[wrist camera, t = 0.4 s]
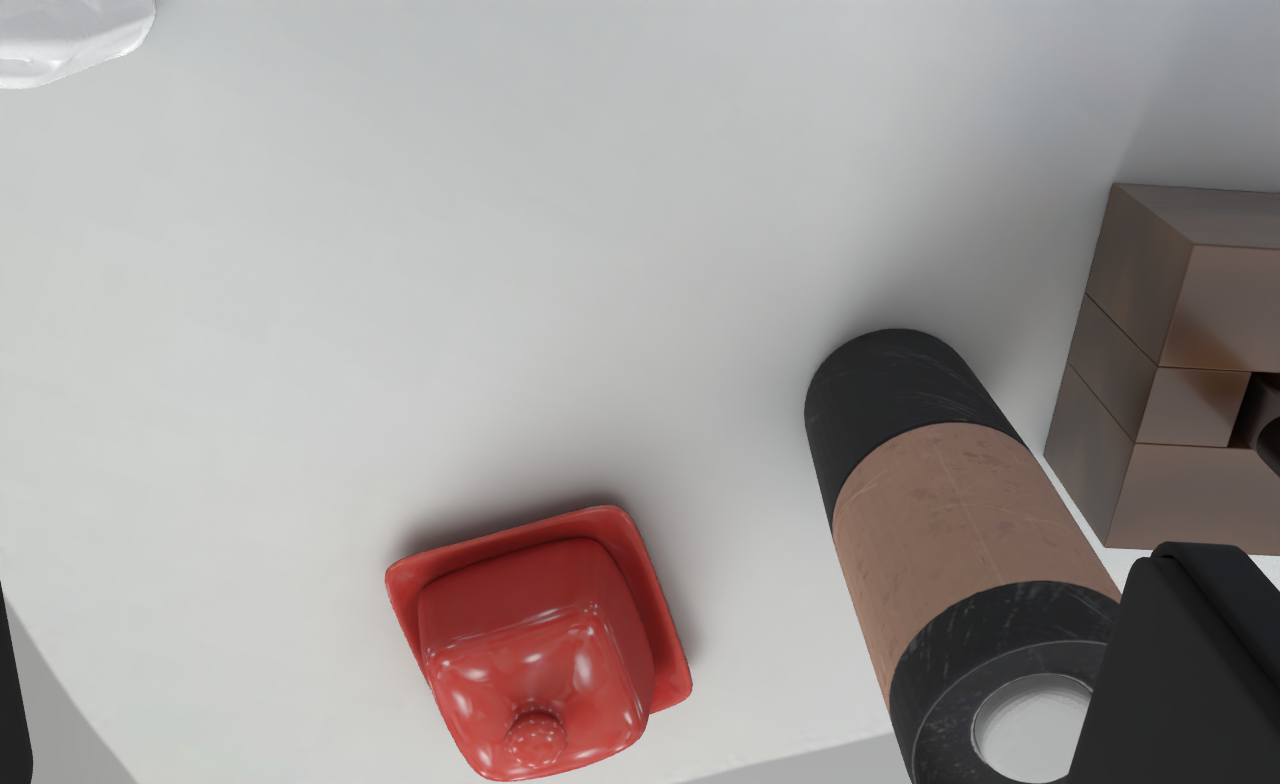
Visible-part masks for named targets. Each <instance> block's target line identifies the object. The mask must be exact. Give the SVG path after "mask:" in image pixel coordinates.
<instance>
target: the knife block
mask: <svg viewBox="0 0 1280 784" xmlns="http://www.w3.org/2000/svg"><path fill="white" fill-rule="evenodd" d="M1250 371H1252V372H1257V373H1258V374H1259V375H1261V376H1262V377H1263V378H1264V379H1265V380H1266V381H1267V382H1268V383H1270V384H1271V385H1272V386H1273V387H1274V388H1275V389H1276V390H1278V391H1279V392H1280V194H1277V193H1261V192H1246V191H1230V190H1215V189H1199V188H1184V187H1168V186H1152V185H1137V184H1121V183H1114V184H1113V185H1112V189H1111V193H1110V197H1109V201H1108V205H1107V209H1106V213H1105V216H1104V220H1103V224H1102V228H1101V232H1100V236H1099V240H1098V244H1097V248H1096V252H1095V256H1094V259H1093V263H1092V267H1091V271H1090V275H1089V279H1088V283H1087V287H1086V293H1084V297H1083V301H1082V305H1081V309H1080V313H1079V317H1078V321H1077V324H1076V328H1075V332H1074V336H1073V340H1072V344H1071V348H1070V352H1069V356H1068V361H1067V364H1066V368H1065V372H1064V376H1063V380H1062V383H1061V387H1060V391H1059V395H1058V399H1057V403H1056V407H1055V411H1054V415H1053V419H1052V423H1051V427H1050V430H1049V434H1048V438H1047V442H1046V446H1045V450H1044V454H1043V456H1044V458H1045V459H1046V461H1047V462H1048V464H1049V465H1050V467H1051V468H1052V470H1053V471H1054V473H1055V474H1056V476H1057V477H1058V479H1059V480H1060V482H1061V483H1062V485H1063V486H1064V488H1065V489H1066V491H1067V492H1068V494H1069V495H1070V497H1071V498H1072V500H1073V501H1074V503H1075V504H1076V506H1077V507H1078V509H1079V510H1080V512H1081V513H1082V515H1083V516H1084V518H1085V520H1086V521H1087V523H1088V524H1089V526H1090V527H1091V529H1092V530H1093V532H1094V533H1095V535H1096V536H1097V538H1098V539H1099V541H1100V542H1101V544H1102V545H1103V547H1105V548H1121V549H1142V550H1155V548H1156V547H1157V546H1158V545H1159V544H1161V543H1163V542H1166V541H1173V542H1192V543H1211V544H1229V545H1234V546H1238V547H1239V548H1240V549H1241V550H1243V551H1244V552H1245V553H1246V554H1248V555H1269V556H1280V478H1279V477H1278V476H1277V475H1276V474H1275V473H1274V472H1273V471H1272V470H1271V469H1270V468H1269V467H1268V466H1267V465H1266V464H1265V463H1264V462H1263V460H1262V459H1261V458H1260V457H1259V455H1258V454H1257V453H1256V452H1255V451H1254V450H1253V449H1252V448H1251V447H1250V446H1249V445H1248V444H1247V443H1246V442H1245V441H1244V440H1243V439H1242V438H1241V437H1240V436H1239V435H1238V434H1237V433H1236V432H1235V431H1234V430H1233V427H1234V424H1235V421H1236V418H1237V415H1238V412H1239V409H1240V406H1241V403H1242V400H1243V397H1244V394H1245V391H1246V388H1247V385H1248V382H1249V379H1250V376H1251V372H1250Z"/></svg>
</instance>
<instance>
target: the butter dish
mask: <svg viewBox="0 0 1280 784" xmlns="http://www.w3.org/2000/svg"><path fill="white" fill-rule="evenodd" d="M385 584H386V589H387V592H388V595H389V598H390V602H391V604H392V607H393V609H394V611H395V613H396V616H397V619H398V621H399V624H400V626H401V628H402V630H403V632H404V635H405V637H406V639H407V641H408V643H409V646H410V648H411V650H412V652H413V654H414V657H415V659H416V660H417V663H418V665H419V667H420V669H421V671H422V673H423V675H424V677H425V679H426V681H427V683H428V685H429V687H430V689H431V691H432V693H433V696H434V698H435V701H436V703H437V705H438V708H439V710H440V712H441V715H442V717H443V719H444V721H445V723H446V725H447V728H448V730H449V731H450V733H451V735H452V737H453V739H454V741H455V743H456V745H457V747H458V748H459V750H460V752H461V753H462V755H463V756H464V758H465V759H466V761H467V762H468V764H469V765H470V766H471V767H472V768H473V769H474V771H475V772H476V773H478V774H479V775H480V776H482V777H484V778H486V779H488V780H492V781H502V782H509V781H519V780H527V779H534V778H541V777H546V776H551V775H555V774H559V773H563V772H567V771H571V770H574V769H578V768H581V767H585V766H587V765H590V764H593V763H595V762H598V761H601V760H603V759H606V758H608V757H610V756H613V755H614V754H616V753H619V752H621V751H623V750H624V749H626V748H628V747H629V746H631V745H632V744H634V743H635V742H636V741H637V740H638V739H639V738H640V737H641V736H642V734H643V732H644V731H645V728H646V725H647V721H648V717H649V714H652V713H655V712H658V711H661V710H664V709H666V708H669V707H671V706H674V705H676V704H678V703H680V702H682V701H683V700H685V699H686V698H687V697H688V696H689V695H690V694H691V691H692V686H693V683H692V678H691V674H690V670H689V667H688V662H687V659H686V657H685V654H684V651H683V648H682V646H681V642H680V639H679V637H678V634H677V631H676V628H675V626H674V623H673V620H672V617H671V614H670V611H669V608H668V606H667V603H666V600H665V597H664V595H663V593H662V589H661V586H660V584H659V582H658V577H657V576H656V573H655V570H654V567H653V565H652V563H651V559H650V557H649V555H648V552H647V550H646V547H645V545H644V542H643V540H642V538H641V535H640V533H639V531H638V529H637V527H636V525H635V523H634V522H633V520H632V519H631V517H630V516H629V515H628V513H627V512H626V511H625V510H623V509H621V508H620V507H618V506H615V505H598V506H593V507H588V508H584V509H581V510H576V511H572V512H568V513H564V514H561V515H558V516H554V517H551V518H546V519H544V520H541V521H536V522H533V523H529V524H525V525H522V526H518V527H514V528H510V529H507V530H503V531H500V532H496V533H493V534H489V535H485V536H482V537H478V538H475V539H471V540H467V541H463V542H460V543H456V544H452V545H448V546H443V547H440V548H436V549H432V550H428V551H424V552H421V553H417V554H414V555H411V556H408V557H406V558H403V559H401V560H399V561H397V562H395V563H394V564H392V565H391V566H390V567H389V568H388V569H387V570H386V574H385Z"/></svg>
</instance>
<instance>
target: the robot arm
mask: <svg viewBox="0 0 1280 784" xmlns="http://www.w3.org/2000/svg"><path fill="white" fill-rule="evenodd" d="M32 773H33V756H32V749H31V743H30V738H29V732H28V728H27V722H26V717H25V711H24V706H23V700H22V695H21V689H20V684H19V679H18V673H17V668H16V663H15V657H14V652H13V646H12V641H11V636H10V630H9V625H8V619H7V614H6V609H5V603H4V598H3V592H2V587H1V582H0V784H31V779H32ZM1065 784H1280V592H1279V590H1278V589H1277V588H1276V587H1275V586H1274V585H1273V584H1272V582H1271V581H1270V580H1269V579H1268V578H1267V577H1266V576H1265V574H1264V573H1263V572H1262V571H1261V570H1260V569H1259V568H1258V567H1257V565H1256V564H1255V563H1254V562H1253V561H1252V560H1251V559H1250V557H1249V556H1248V555H1247V554H1246V553H1245V552H1244V551H1243V550H1241V549H1240V548H1239V547H1238V546H1234V545H1229V544H1211V543H1192V542H1173V541H1166V542H1163V543H1161V544H1159V545H1158V546H1157V547H1156V548H1155V550H1154V551H1153V552H1152V554H1151V556H1150V557H1142V558H1139V559H1137V560H1136V561H1135V562H1134V564H1133V565H1132V567H1131V569H1130V571H1129V574H1128V577H1127V580H1126V584H1125V587H1124V590H1123V594H1122V597H1121V600H1120V604H1119V607H1118V610H1117V613H1116V617H1115V620H1114V623H1113V627H1112V630H1111V633H1110V637H1109V640H1108V643H1107V647H1106V650H1105V653H1104V657H1103V660H1102V663H1101V666H1100V670H1099V673H1098V676H1097V680H1096V683H1095V686H1094V690H1093V693H1092V696H1091V700H1090V703H1089V706H1088V710H1087V713H1086V716H1085V719H1084V723H1083V726H1082V729H1081V733H1080V736H1079V739H1078V743H1077V746H1076V749H1075V753H1074V756H1073V759H1072V763H1071V766H1070V769H1069V772H1068V776H1067V779H1066V782H1065Z"/></svg>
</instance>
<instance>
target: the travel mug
mask: <svg viewBox="0 0 1280 784" xmlns="http://www.w3.org/2000/svg"><path fill="white" fill-rule="evenodd" d="M804 417H805V427H806V432H807V436H808V441H809V445H810V450H811V454H812V458H813V462H814V466H815V470H816V474H817V478H818V482H819V486H820V490H821V494H822V498H823V502H824V506H825V510H826V514H827V518H828V522H829V526H830V530H831V534H832V538H833V542H834V545H835V550H836V553H837V556H838V559H839V562H840V565H841V568H842V571H843V574H844V577H845V581H846V584H847V587H848V590H849V593H850V596H851V599H852V602H853V605H854V608H855V611H856V614H857V618H858V621H859V624H860V627H861V630H862V633H863V636H864V639H865V642H866V645H867V648H868V652H869V655H870V658H871V661H872V664H873V667H874V670H875V673H876V676H877V679H878V682H879V685H880V689H881V692H882V695H883V698H884V701H885V704H886V707H887V710H888V713H889V716H890V719H891V722H892V726H893V729H894V732H895V735H896V738H897V741H898V744H899V747H900V750H901V754H902V756H903V760H904V762H905V766H906V769H907V772H908V775H909V777H910V780H911V782H912V784H1065V782H1066V779H1067V776H1068V772H1069V769H1070V766H1071V763H1072V759H1073V756H1074V753H1075V749H1076V746H1077V743H1078V739H1079V736H1080V733H1081V729H1082V726H1083V723H1084V719H1085V716H1086V713H1087V710H1088V706H1089V703H1090V700H1091V696H1092V693H1093V690H1094V686H1095V683H1096V680H1097V676H1098V673H1099V670H1100V666H1101V663H1102V660H1103V657H1104V653H1105V650H1106V647H1107V643H1108V640H1109V637H1110V633H1111V630H1112V627H1113V623H1114V620H1115V617H1116V613H1117V610H1118V607H1119V604H1120V600H1121V597H1122V594H1121V593H1120V591H1119V590H1118V588H1117V586H1116V585H1115V583H1114V582H1113V580H1112V578H1111V577H1110V575H1109V574H1108V572H1107V570H1106V569H1105V567H1104V566H1103V564H1102V562H1101V561H1100V559H1099V558H1098V556H1097V555H1096V553H1095V551H1094V550H1093V548H1092V547H1091V545H1090V543H1089V542H1088V540H1087V539H1086V537H1085V535H1084V534H1083V532H1082V531H1081V529H1080V527H1079V526H1078V524H1077V523H1076V521H1075V520H1074V518H1073V516H1072V515H1071V513H1070V512H1069V510H1068V508H1067V507H1066V505H1065V504H1064V502H1063V500H1062V499H1061V497H1060V496H1059V494H1058V492H1057V491H1056V489H1055V488H1054V486H1053V485H1052V483H1051V481H1050V480H1049V478H1048V477H1047V475H1046V473H1045V472H1044V470H1043V469H1042V467H1041V466H1040V464H1039V463H1038V461H1037V460H1036V458H1035V457H1034V456H1033V454H1032V453H1031V451H1030V450H1029V448H1028V447H1027V446H1026V444H1025V443H1024V442H1023V440H1022V439H1021V437H1020V436H1019V435H1018V433H1017V432H1016V431H1015V429H1014V428H1013V427H1012V425H1011V424H1010V422H1009V421H1008V420H1007V418H1006V417H1005V416H1004V414H1003V413H1002V411H1001V410H1000V409H999V407H998V406H997V405H996V403H995V402H994V401H993V399H992V398H991V396H990V395H989V394H988V392H987V391H986V390H985V388H984V387H983V385H982V384H981V383H980V381H979V380H978V379H977V377H976V376H975V375H974V373H973V372H972V371H971V369H970V368H969V367H968V365H967V364H966V363H965V361H964V360H963V359H962V358H961V357H960V356H959V355H958V354H957V353H956V352H955V351H954V350H953V349H952V348H951V347H950V346H948V345H947V344H946V343H944V342H943V341H941V340H939V339H937V338H936V337H933V336H931V335H928V334H926V333H923V332H919V331H915V330H907V329H888V330H880V331H876V332H872V333H868V334H865V335H863V336H860V337H858V338H856V339H854V340H852V341H850V342H848V343H846V344H845V345H843V346H842V347H840V348H839V349H838V350H836V351H835V352H834V353H833V354H832V355H830V357H829V358H828V359H827V360H826V361H825V362H824V363H823V364H822V365H821V367H820V368H819V370H818V371H817V372H816V374H815V376H814V378H813V380H812V382H811V384H810V387H809V389H808V392H807V396H806V401H805V409H804Z"/></svg>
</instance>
